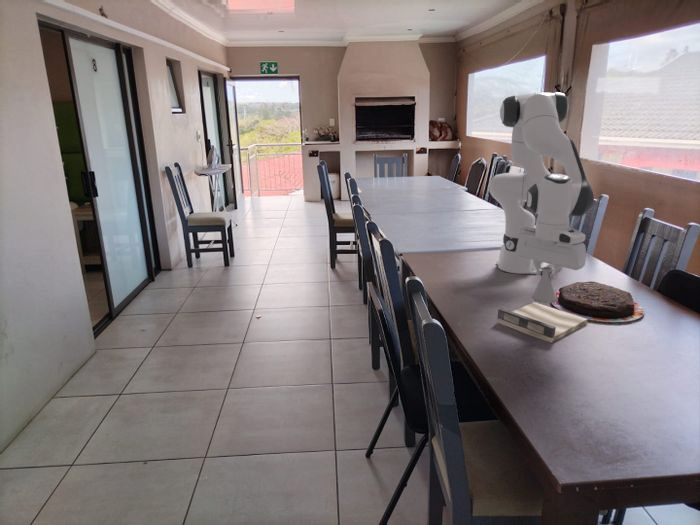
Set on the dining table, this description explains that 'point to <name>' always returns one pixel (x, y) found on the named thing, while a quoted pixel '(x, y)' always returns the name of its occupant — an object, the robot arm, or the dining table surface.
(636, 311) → the chocolate cake
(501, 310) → the shelf board
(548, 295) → the flask
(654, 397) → the dining table surface
